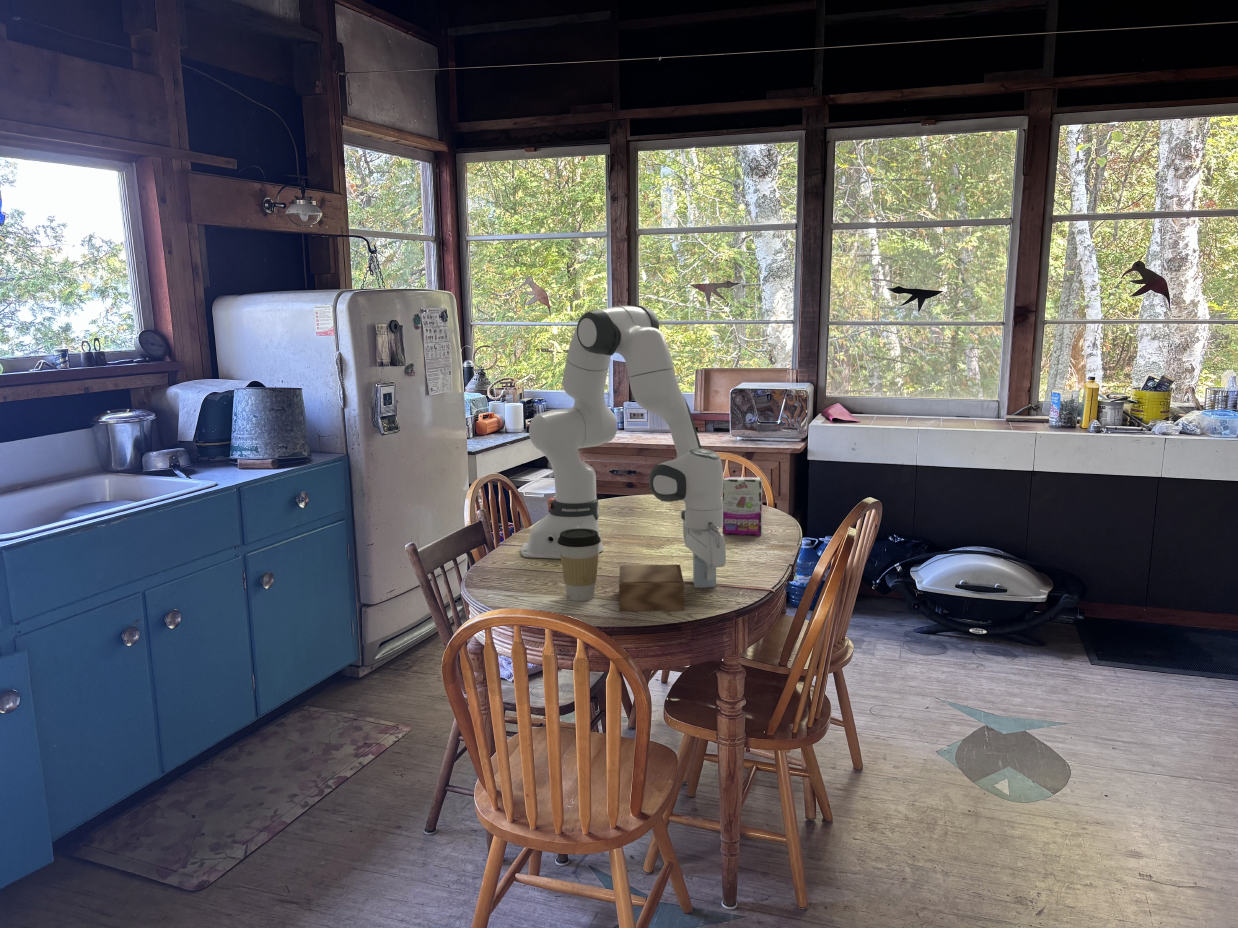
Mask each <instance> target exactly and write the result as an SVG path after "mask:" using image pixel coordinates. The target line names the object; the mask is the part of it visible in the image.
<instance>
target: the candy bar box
mask: <svg viewBox="0 0 1238 928" xmlns="http://www.w3.org/2000/svg"><path fill="white" fill-rule="evenodd" d="M722 502H723V526H722V534H723V536H724V535H727V536H729V535H730V536H754V537H756V536H757V537H759V536H762V533H763V477H762V476H761V477H759V476H757V477H756V476H723V491H722Z"/></svg>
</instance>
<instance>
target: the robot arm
mask: <svg viewBox="0 0 1238 928" xmlns="http://www.w3.org/2000/svg"><path fill="white" fill-rule="evenodd" d="M614 354H619V355H621V357H622V358H623V359H624V361H625V365H626V370H627V377H628V381H629V382H628V383H629V386H630V392H631V394H632V396H633V398H634V401H635V403H636V404H637V405H638V406H640V408H642V409H643V410H645V411H647V412H649V413H652V414H654V415H656V416H658V417H660V418H661V419H663V421H664V422H666V424H667V426H668V428H669V431H670V434H671V438H672V441H673V445H674V448H675V451H676V458H674V459H670V460H667V461H663V462H661V463H658V464H657V465H655V466H654V467H653V468H652V469H651V471H650V474H649V478H648V484H649V488H650V491H651V493H652V494H653V496H654V497H655V498H656V499H658V500H659V501H661V502H666V503H667V502H669V503H673V502H678V501H682V502H684V504H685V506H684V507H685V509H681V511H680V518H681V520H682V533H683V542H684V545H685V547H686V548H687V549H689V550H690V552H692V558H693V557H699V558H700V559H702V560H703V561H704V562H705V563H706V567H707V569H706V572H705V578H706V579H707V580H708V581H712V580H714V573H715V570H716V571H717V568H722V567H725V566H726V563H727V559H726V558H727V557H726V555H727V553H726V541H725V536H724V534H723V532H721V531H720V529H721V528H723V479H724V470H723V463H722V459H721V456H720V454H718V453H717V452H715V451H714V450H712V449H707V448H702V445H701V442H700V438H699V435H698V432H697V429H696V424H695V422H694V419H693V415H692V413H691V409H690V406H689V404H688V401H687V400H686V398H685V396H684V395H683V393H682V391H681V388H680V386H679V383H678V379H677V376H676V371H675V368H674V363H673V362H674V361H673V358H672V355H671V351H670V349H669V346H668V343H667V341H666V337H665V336H664V333H663V332H662V331H661V330H660V323H659V318H658V316H657V314H656V312H655V311H654V310H653V309H651V308H649V307H647V306H643V305H639V304H638V305H615V306H610V307H605V308H602V309H600V308H594V309H591V310H589V311H587V312H585V313H583V314H582V315H580V317H579V320H578V322H577V326H576V328H575V330H574V332H573V335H572V338H571V340H570V343H569V347H568V351H567V355H566V360H565V365H564V370H563V374H562V380H561V382H562V383H561V385H562V388H563V390H564V392H565V393H566V394H567V395H568V396H569V397H571V398H572V399H574V403H573V406H572V407H571V408H561V409H559V408H558V409H550V410H547V411H544V412H541V413H539V414H536V415H534V416H533V417H532V419H531V421H530V423H529V428H528V434H529V439H530V441H531V443H532V445H533V446H534V448H536V449H537V450H539V451H540V452H541V453H543V455H544V457H546V458H547V460H548V461H549V464H550V465H551V469H552V472H553V478H554V488H555V489H554V491H555V498H553V497H550V498H549V499H548V501H547V508H548V509H547V510H548V511H547V512H548V513H547V514H546V515H545V516H543V518H541V519H540V520H539V521H537V522H536V523H535V524H534V525H533V526H532V527H531V529H530V531H529V535H528V541H527V542H525V543H524V544H523V545H522V546H521V547H520V555H521V554H522V555H521V556H522V557H524V558H535V559H536V558H538V559H560V560H561V556H560V554H561V551H560V544H558V542H557V541H558V538H559V537H560V533H561V532H562V531H565V530H569V529H578V528H584V529H592V530H595V531H597V532H598V536H599V537H600V539H601V534H600V528H599V516H600V510H599V508H600V507H599V499H598V498H597V474H596V471H595V469H594V467H592V466H591V465H590V464H588V463H586V462H584V461H582V459H581V457H580V453H579V449H584V448H585V449H586V448H593V447H598V446H602V445H604V444H607V443H608V442H611V441H612V440H613V439H614V438H615V436H616V434H617V432H618V419H617V416H616V415H615V413H614V412H613V411H612V410H611V409H610V408H609V407H608V406H607V404H606V399H605V388H606V382H607V376H608V373H609V367H610V362H611V356H613V355H614ZM603 550H604V545H603V543H602V539H601V542H600V543H599V548H598V553H599V554H600V552H603Z"/></svg>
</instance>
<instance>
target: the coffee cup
mask: <svg viewBox="0 0 1238 928" xmlns="http://www.w3.org/2000/svg"><path fill="white" fill-rule="evenodd" d="M600 537H601V536H600ZM600 537H599V536H598V532H597V531H595V530H592V529H584V528H578V529H569V530H565V531H562V532H561V533H560V537H559V538H558V541H557V542H558V544H560V551H561V554H560V556H561V559H560V562H561V569H562V574H563V575H562V576H563V582H564V585H565V591H566V592H565V593H566V598H567V599H568V600H570V601H573V602H574V601H575V602H586V601H590V600H593V599H594V598H595V591H596V582H597V576H598V575H597V573H598V566H599V564H598V563H599V554H600V552H599V553H598V548H599V543H600V542H601V541H602V539H600Z"/></svg>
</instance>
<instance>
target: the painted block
mask: <svg viewBox="0 0 1238 928" xmlns="http://www.w3.org/2000/svg"><path fill="white" fill-rule="evenodd" d="M692 569H693V570H692V575H693V576H692V581H693V585H694V588H716V587H717V569H716V570H715V573H714V580H712V581H708V580H707V579H706V578H705V572H706V569H707V567H706V563H705V562H704V561H703V560H702V559H700V558H699V557H693V556H692Z"/></svg>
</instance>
